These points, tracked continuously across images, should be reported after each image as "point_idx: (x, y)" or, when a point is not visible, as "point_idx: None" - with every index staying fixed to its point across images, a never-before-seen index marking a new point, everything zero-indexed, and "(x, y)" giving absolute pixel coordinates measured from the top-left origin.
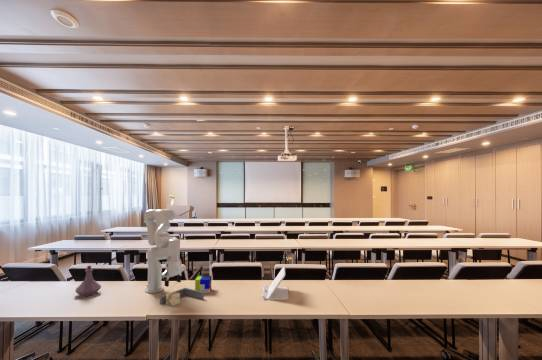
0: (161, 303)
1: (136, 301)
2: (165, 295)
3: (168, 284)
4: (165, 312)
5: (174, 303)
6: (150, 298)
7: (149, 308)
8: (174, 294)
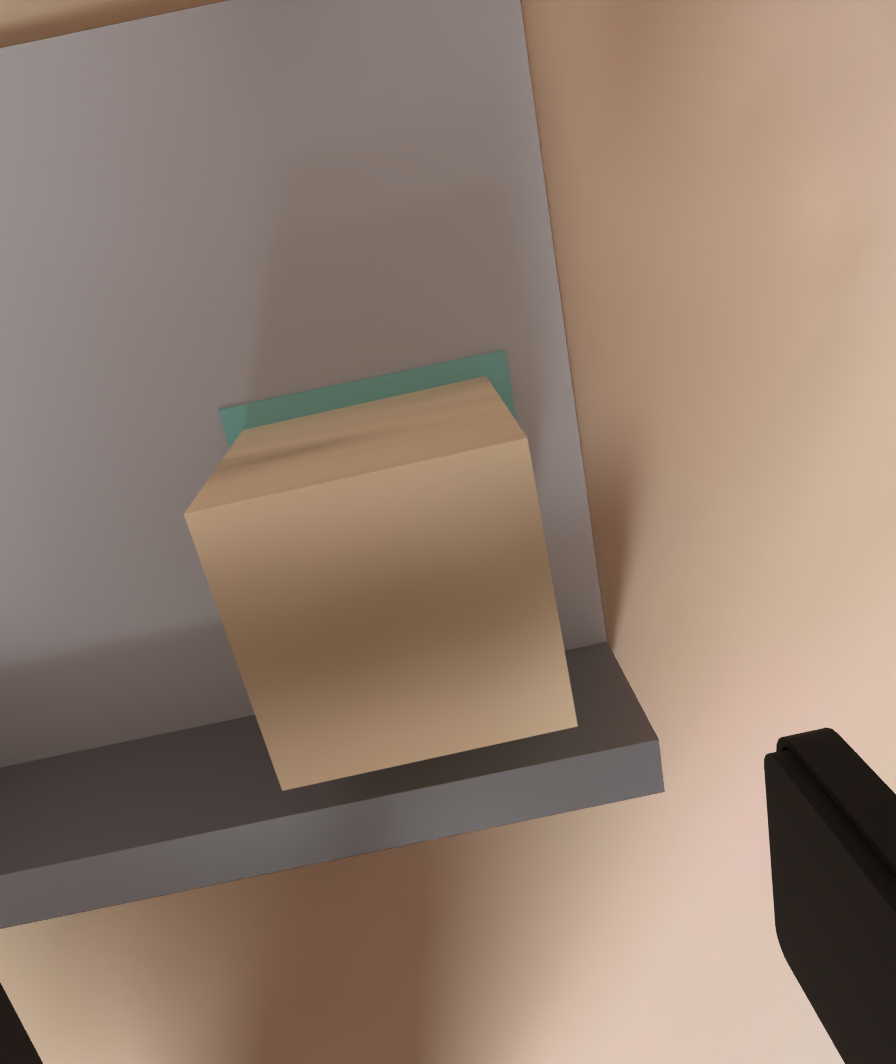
0: (608, 651)
1: (778, 1058)
2: (515, 782)
3: (857, 806)
4: (804, 136)
5: (419, 397)
6: (550, 1045)
7: (854, 636)
8: (399, 525)
